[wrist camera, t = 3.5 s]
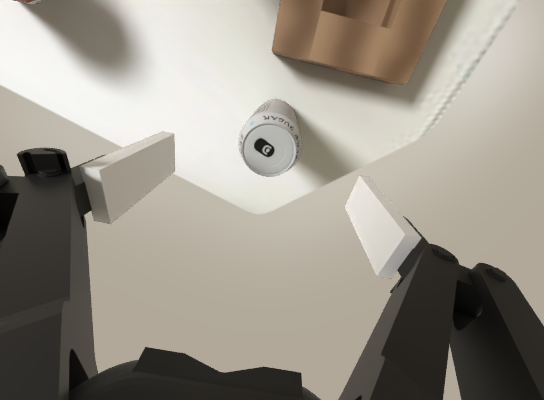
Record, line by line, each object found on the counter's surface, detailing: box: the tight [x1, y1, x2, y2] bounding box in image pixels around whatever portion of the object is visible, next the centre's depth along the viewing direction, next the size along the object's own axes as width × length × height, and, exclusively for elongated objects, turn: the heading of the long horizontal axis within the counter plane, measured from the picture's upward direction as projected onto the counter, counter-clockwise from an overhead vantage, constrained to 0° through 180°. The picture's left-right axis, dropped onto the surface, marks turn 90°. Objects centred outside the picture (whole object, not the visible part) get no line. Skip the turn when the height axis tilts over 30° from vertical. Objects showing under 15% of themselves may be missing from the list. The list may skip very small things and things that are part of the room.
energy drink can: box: [238, 99, 302, 177], centre depth 25 cm, size 6×6×15 cm
